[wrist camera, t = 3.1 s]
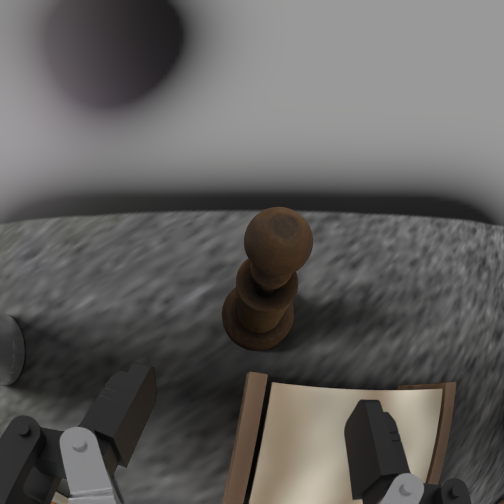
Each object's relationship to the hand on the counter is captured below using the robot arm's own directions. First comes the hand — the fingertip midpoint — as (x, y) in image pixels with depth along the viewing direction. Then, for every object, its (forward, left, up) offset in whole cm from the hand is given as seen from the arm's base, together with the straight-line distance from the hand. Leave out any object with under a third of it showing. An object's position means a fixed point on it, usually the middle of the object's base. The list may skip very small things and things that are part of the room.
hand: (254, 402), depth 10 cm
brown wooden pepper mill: (0, +7, -17) cm, 18 cm away
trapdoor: (+8, -6, -14) cm, 18 cm away
